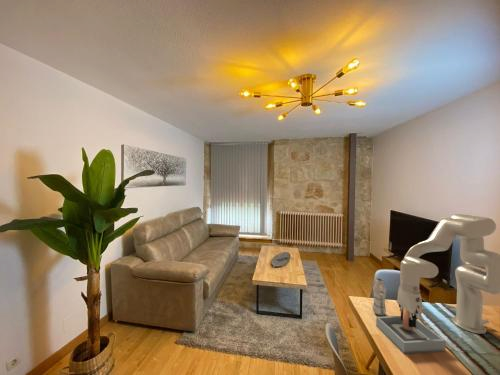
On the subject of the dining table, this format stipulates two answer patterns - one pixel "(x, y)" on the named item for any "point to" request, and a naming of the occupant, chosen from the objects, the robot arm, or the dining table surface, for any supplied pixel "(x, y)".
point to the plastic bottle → (379, 297)
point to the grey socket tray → (410, 336)
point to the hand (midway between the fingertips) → (408, 323)
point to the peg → (406, 319)
